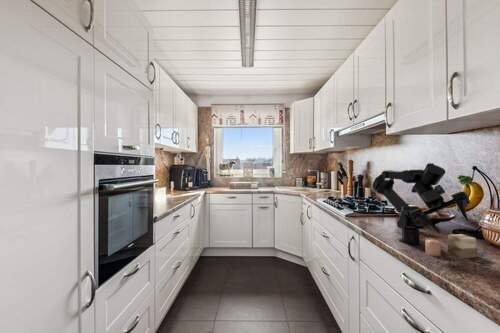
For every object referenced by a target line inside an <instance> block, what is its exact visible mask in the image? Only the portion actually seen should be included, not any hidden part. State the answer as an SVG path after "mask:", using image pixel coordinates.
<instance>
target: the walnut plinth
mask: <svg viewBox="0 0 500 333" xmlns="http://www.w3.org/2000/svg"><path fill="white" fill-rule="evenodd" d="M478 250H479V249H478V247H476V248H466V249H461V248H458V247H456V246H453V245H450V244H448V243H447V253H448V254H451V255H454V256H456V257H459V258H461V259H471V258H478V256H479V255H478Z"/></svg>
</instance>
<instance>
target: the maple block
mask: <svg viewBox="0 0 500 333" xmlns="http://www.w3.org/2000/svg"><path fill="white" fill-rule="evenodd" d="M447 236H448V240H447V241H448V242H447V245H448V244H450V245H453V246H456V247H458V248H461V249H466V248H477V240H476V237H473V236H470V235H465V234H462V233H461V234H459V233H458V234H457V233H456V234H448V235H447Z"/></svg>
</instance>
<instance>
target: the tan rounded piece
mask: <svg viewBox="0 0 500 333" xmlns="http://www.w3.org/2000/svg"><path fill="white" fill-rule="evenodd" d="M424 242H425V244H424V245H425V250H424V251H425V254H426V255H427V256H431V257H436V258H437V257H441V256H442V255H441V254H442V253H441V252H442V251H441V249H442V248H441V245H442V244H441V241H440V240H437V239H431V238H427V239H425V241H424Z"/></svg>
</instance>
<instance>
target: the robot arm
mask: <svg viewBox="0 0 500 333" xmlns="http://www.w3.org/2000/svg"><path fill="white" fill-rule="evenodd" d="M445 174H446V170H445V169H444V168H442V167H441V166H439V165H435V164H434V163H431V162H429V163H427V164H426V166H425V168H424V169H404V170H401V171H400V170H393V169H388V170H387V169H386V170H383V171H382V172H381V173H380V174H379V175H378V176H377V177H375V179H374V180H373V182H372V188H373V190H374V191H375V192H376V193H377V194H380V195H381V196H382V195H383V196H384V197H385V198H386V199H387V201H388V202H389V203H390V204H391V205H392V206H393V207H394V208H395V209H396V211H397V212H398V213H399V219H398V220H397V221H396V226H397V228H398V229H401V238H399V239H398V241H399V242H401V243H404V244H406V245H409V246H411V245H412V246H413V245H423V242H422V241H421V238H420V237H421V235H420V230H424V229H425V226H427V227H429V228H430V229H432V230H433V231H435V232H436V233H437V234H440V231H439V229H438V228H437V227H436V226H435V225H434V224H433V222H432V221H431V220H430V219H429V218H428V216H430V215H432V214H434V213H436V212H439V211H442V210H445V209H447V208H450V207H452V206H455V205H456V208H457V210H459V212H460V214H461V216H462V217H463V218H464V220H465V221H466V223H467V224H469V223H470V221H469V218H468V216H467V210H466V208H468V207H469V205H470V204H471V200H470V197H469V194H467V193H466V192H465V191H461V190H460V191H457V192H456V193H453V194H451V195H450V197H451V199H449V200H447V201H445V199H444V197H443V196H442V195H444V194H446V191H445V189H444V188H443V186H441V184H439V183H440V181H441V180H442V178H443V177H444V176H445ZM395 180H401V181H402V182H404V183H407V184H414V185H413V186H412V188H411V193H413V194H414V193H415V194H416V193H417V195H418V196H419V198H420V199H421V200H422V202H423V203H424V204H425V206H426V207H427V209H424V210H421V209H420V208H419V207H418V206H417V205H415V206H409V205H410V204H408V203H407V202H406V201H404V199H403V198H402V197H401V196H400V195H399V193H398V192H396V191H395V190H394V189H393V188H394V185H395Z"/></svg>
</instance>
